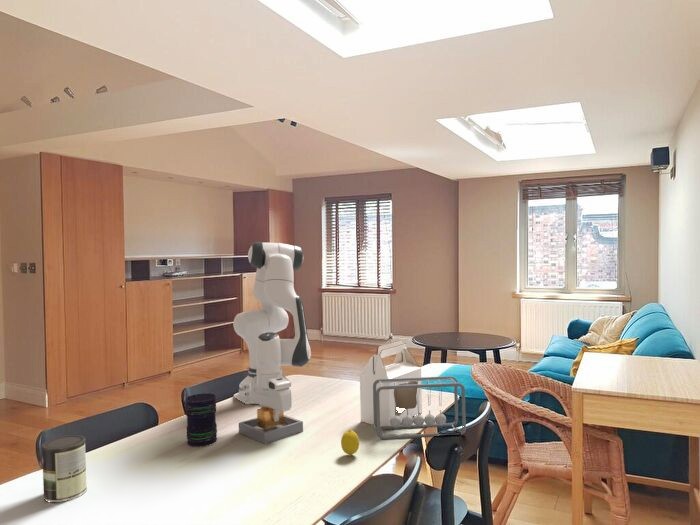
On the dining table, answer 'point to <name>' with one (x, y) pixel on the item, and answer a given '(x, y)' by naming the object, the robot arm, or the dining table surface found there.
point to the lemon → (350, 442)
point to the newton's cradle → (418, 418)
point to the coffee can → (64, 468)
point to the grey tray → (270, 430)
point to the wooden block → (268, 418)
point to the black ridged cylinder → (201, 420)
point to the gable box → (399, 369)
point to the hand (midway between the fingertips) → (270, 419)
